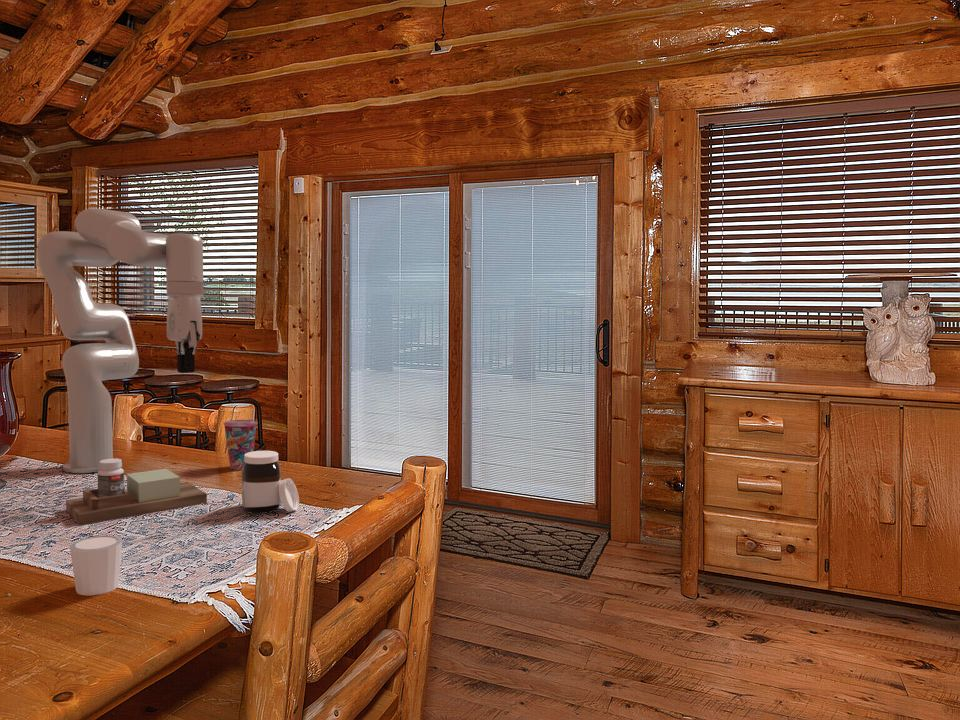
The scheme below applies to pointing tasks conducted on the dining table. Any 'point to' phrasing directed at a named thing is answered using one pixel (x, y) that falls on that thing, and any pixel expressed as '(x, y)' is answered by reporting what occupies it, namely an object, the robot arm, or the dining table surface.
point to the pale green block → (153, 485)
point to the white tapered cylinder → (96, 564)
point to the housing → (128, 504)
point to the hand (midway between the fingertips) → (186, 372)
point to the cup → (239, 440)
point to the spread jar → (266, 484)
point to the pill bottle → (110, 478)
